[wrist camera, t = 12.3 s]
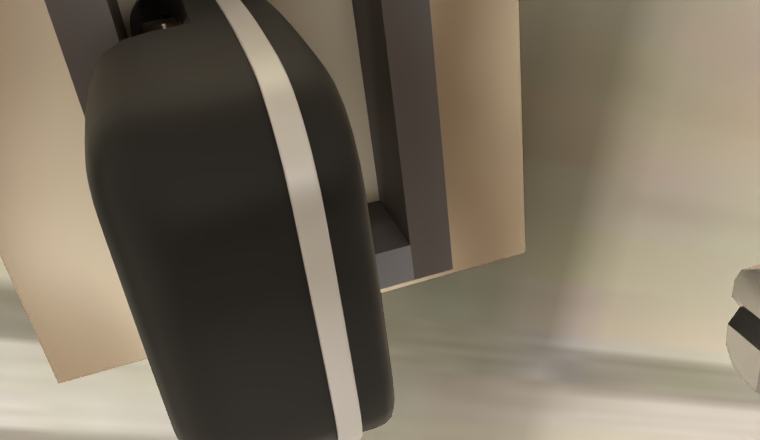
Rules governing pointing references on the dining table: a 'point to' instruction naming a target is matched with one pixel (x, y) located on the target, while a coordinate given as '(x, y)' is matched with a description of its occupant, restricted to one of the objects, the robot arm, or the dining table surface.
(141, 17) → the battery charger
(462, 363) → the dining table surface
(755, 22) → the dining table surface
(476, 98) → the dock
